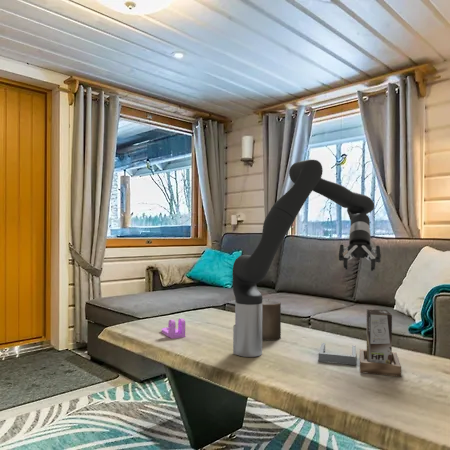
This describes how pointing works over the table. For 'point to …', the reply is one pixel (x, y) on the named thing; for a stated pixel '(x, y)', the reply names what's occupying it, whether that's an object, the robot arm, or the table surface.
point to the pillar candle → (271, 320)
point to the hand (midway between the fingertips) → (359, 268)
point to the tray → (380, 365)
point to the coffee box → (379, 336)
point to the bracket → (172, 330)
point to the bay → (337, 356)
